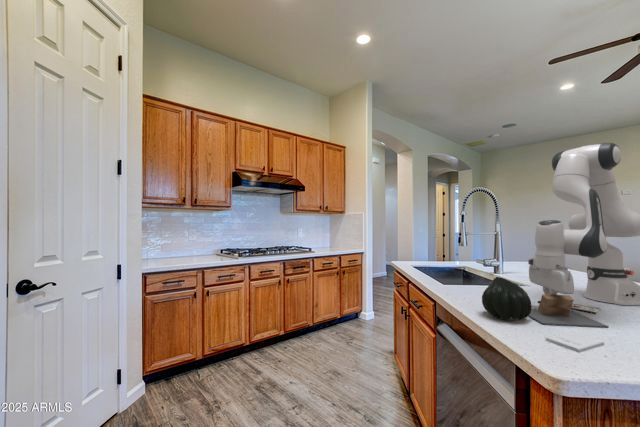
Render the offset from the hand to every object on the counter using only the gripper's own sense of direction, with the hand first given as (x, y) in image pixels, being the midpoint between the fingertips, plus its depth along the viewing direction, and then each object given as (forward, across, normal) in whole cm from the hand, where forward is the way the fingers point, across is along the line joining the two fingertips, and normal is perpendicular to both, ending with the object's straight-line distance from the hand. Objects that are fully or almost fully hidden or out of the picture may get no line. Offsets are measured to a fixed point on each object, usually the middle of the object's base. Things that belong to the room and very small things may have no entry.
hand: (550, 300), depth 108 cm
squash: (+6, -6, +18) cm, 20 cm away
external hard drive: (+6, -26, +9) cm, 28 cm away
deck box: (+4, -1, 0) cm, 4 cm away
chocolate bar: (+6, +12, -14) cm, 19 cm away
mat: (+5, -4, 0) cm, 7 cm away
